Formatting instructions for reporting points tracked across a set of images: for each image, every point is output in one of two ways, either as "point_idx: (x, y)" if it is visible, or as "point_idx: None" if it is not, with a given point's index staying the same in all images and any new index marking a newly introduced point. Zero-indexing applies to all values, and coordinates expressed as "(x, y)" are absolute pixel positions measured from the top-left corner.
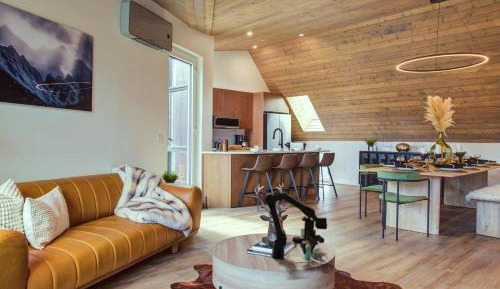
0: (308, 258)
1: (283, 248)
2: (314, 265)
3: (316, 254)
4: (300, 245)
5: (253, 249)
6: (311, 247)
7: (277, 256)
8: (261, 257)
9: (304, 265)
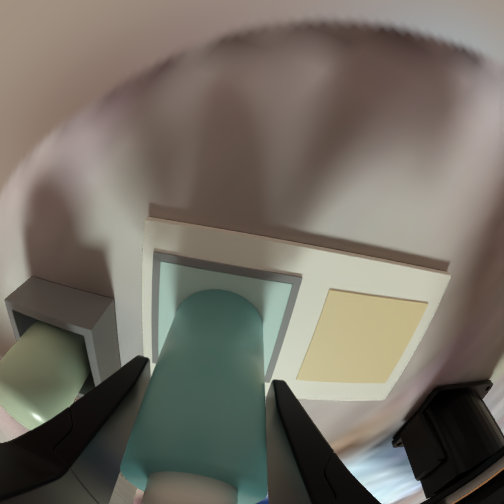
0: (229, 300)
1: (458, 468)
2: (271, 75)
3: (60, 336)
4: (133, 492)
5: (420, 485)
6: (104, 456)
7: (480, 400)
8: (498, 408)
9: (416, 145)
